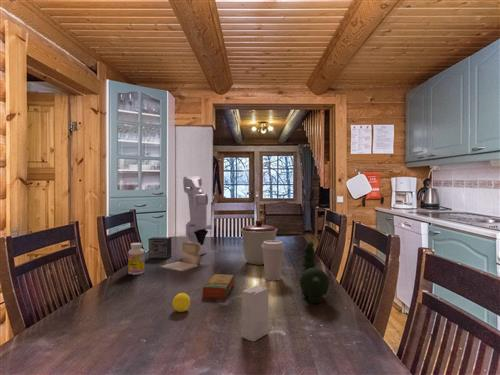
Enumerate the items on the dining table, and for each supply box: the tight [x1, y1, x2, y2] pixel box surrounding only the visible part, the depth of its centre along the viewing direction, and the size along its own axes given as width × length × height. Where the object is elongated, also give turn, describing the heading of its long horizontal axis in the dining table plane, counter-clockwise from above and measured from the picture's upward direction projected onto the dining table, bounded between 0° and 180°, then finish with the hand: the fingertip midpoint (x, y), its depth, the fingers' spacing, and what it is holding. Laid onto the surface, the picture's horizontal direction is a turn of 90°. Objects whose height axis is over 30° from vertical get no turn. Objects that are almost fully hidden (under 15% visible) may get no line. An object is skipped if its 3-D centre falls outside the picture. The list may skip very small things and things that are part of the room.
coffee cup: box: [261, 239, 285, 281], centre depth 136 cm, size 10×10×15 cm
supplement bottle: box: [127, 242, 145, 276], centre depth 145 cm, size 7×7×13 cm
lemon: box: [171, 292, 191, 313], centre depth 102 cm, size 7×5×5 cm
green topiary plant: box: [299, 241, 330, 304], centre depth 115 cm, size 9×19×25 cm
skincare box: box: [241, 285, 269, 342], centre depth 85 cm, size 6×4×12 cm
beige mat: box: [160, 260, 199, 272], centre depth 155 cm, size 11×13×1 cm
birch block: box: [181, 241, 201, 265], centre depth 162 cm, size 4×8×10 cm, turn 57°
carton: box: [202, 273, 235, 300], centre depth 121 cm, size 8×16×4 cm, turn 173°
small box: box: [147, 236, 173, 260], centre depth 174 cm, size 11×6×10 cm, turn 84°
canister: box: [240, 219, 278, 266], centre depth 163 cm, size 18×18×21 cm
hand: (200, 244), depth 168 cm, fingers closed
